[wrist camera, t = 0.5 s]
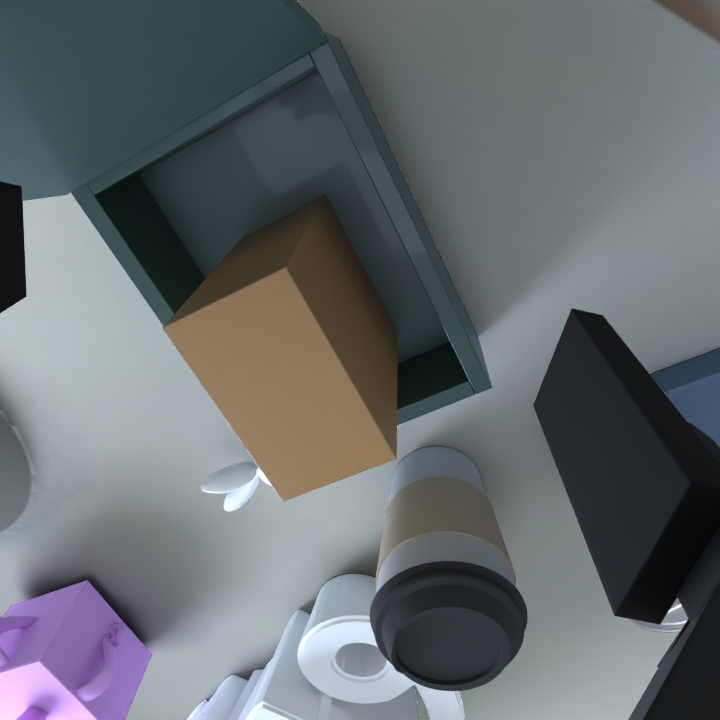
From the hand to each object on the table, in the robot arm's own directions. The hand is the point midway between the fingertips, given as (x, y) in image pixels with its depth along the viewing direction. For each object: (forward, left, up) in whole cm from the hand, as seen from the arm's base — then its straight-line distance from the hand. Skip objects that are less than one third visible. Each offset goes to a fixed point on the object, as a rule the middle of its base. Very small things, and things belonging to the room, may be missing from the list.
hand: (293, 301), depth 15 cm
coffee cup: (+6, +24, -24) cm, 35 cm away
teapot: (+42, +26, -24) cm, 55 cm away
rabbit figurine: (+17, +16, -24) cm, 33 cm away
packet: (+6, +6, -23) cm, 24 cm away
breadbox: (+6, +4, -24) cm, 25 cm away
